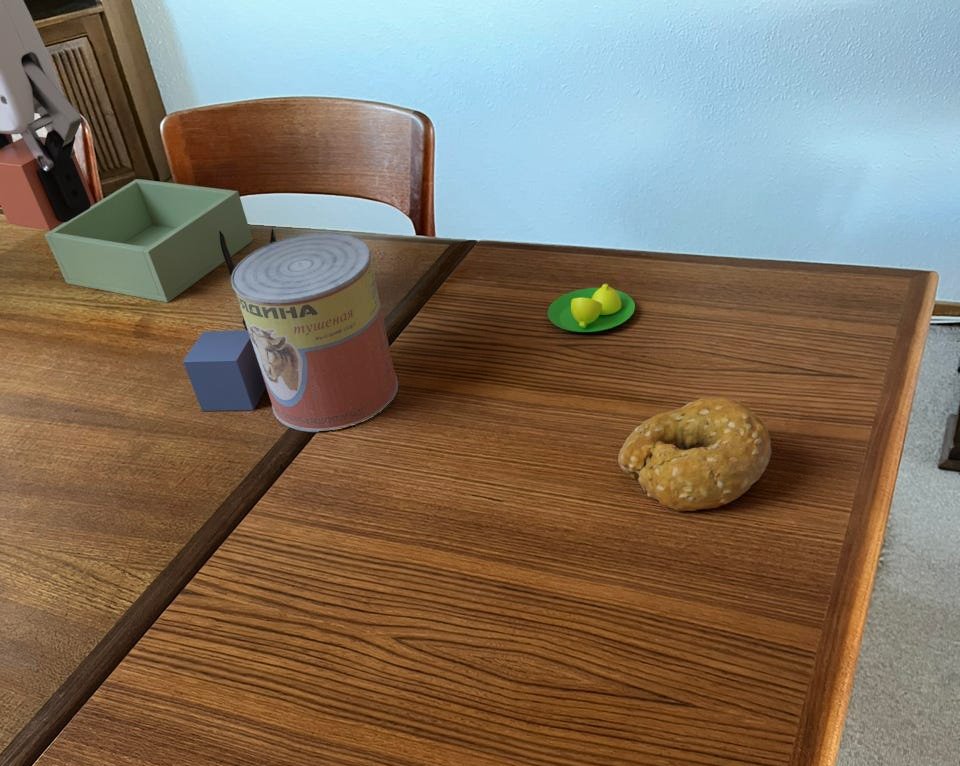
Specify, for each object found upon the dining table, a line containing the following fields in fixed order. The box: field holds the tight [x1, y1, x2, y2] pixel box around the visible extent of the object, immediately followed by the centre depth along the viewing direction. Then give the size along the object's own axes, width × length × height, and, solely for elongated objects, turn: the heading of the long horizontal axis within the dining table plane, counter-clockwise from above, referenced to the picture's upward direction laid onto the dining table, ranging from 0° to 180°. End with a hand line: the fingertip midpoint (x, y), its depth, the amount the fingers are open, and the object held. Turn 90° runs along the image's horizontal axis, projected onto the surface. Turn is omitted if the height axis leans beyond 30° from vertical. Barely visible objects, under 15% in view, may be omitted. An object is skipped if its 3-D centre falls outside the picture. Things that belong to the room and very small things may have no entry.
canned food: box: [230, 232, 399, 433], centre depth 81 cm, size 11×11×12 cm
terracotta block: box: [0, 136, 96, 232], centre depth 77 cm, size 5×5×5 cm
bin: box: [44, 178, 254, 303], centre depth 107 cm, size 16×15×6 cm
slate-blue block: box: [182, 329, 267, 412], centre depth 86 cm, size 5×5×5 cm
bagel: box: [617, 396, 772, 512], centre depth 70 cm, size 10×11×5 cm
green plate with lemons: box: [547, 283, 636, 333], centre depth 88 cm, size 8×8×3 cm
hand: (50, 208), depth 78 cm, fingers closed on terracotta block, 5 cm apart
